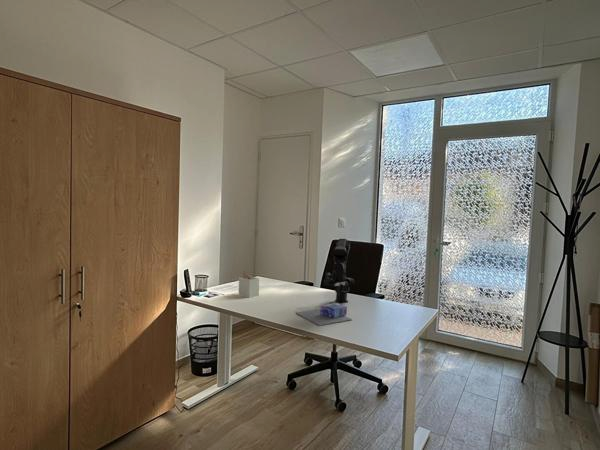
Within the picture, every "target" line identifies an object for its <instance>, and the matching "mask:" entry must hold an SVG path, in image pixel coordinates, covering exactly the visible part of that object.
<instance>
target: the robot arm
mask: <svg viewBox="0 0 600 450" xmlns="http://www.w3.org/2000/svg"><path fill="white" fill-rule="evenodd" d="M335 246H336V247H335V248H334V249H333V252H332V253H333V254H332V261H333V262H334V264H333V267H332V269H333V272H332V273H330V272H326V273H325V279H324V280H323V285H324V286H327V287H333V288H334V290H335V293H336V294H335V299H334V301H336V303H337V302H338V303H339V304H341V303H349V300H348V299H347V298H348V297H347V296H348V294H349V293H350V286H349V284H350V285H354V284H355V280H354V278H352V277H347V276H346V273H347V272H346V268H347V261H348V258H349V257H348V256H349V251H350V250H351V243H350V242H349V240H348V239H347V238H339V239H338V241H336V245H335ZM348 283H349V284H348Z"/></svg>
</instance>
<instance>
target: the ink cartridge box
mask: <svg viewBox="0 0 600 450" xmlns="http://www.w3.org/2000/svg"><path fill="white" fill-rule="evenodd" d="M319 309H320V314H321V315H323V316H326V317H329V318H331V319H332V318H337V317H341V316H347V312H348V306H347V305H343V304H341V303H339V302H338V303H337V302H334V303H333V302H332V303H329V304H322V305H320V308H319Z"/></svg>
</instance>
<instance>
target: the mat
mask: <svg viewBox="0 0 600 450" xmlns="http://www.w3.org/2000/svg"><path fill="white" fill-rule="evenodd" d="M320 309H321V308H316V309H311V310H304V311H297V312H295V314H296V315H298V316H300V317H301V318H304V319H305V320H307V321H310V322H311V323H313V324H314V325H316V326H318V327H322V326H326V325H333V324H337V323H338V324H340V323H344V322H350V321H353V319H352V318H350V317H348V316H347V315H345V316H341V317H337V318H332V319H331V318H329V317H326V316H323V315H321V314H320Z"/></svg>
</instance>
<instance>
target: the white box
mask: <svg viewBox="0 0 600 450" xmlns="http://www.w3.org/2000/svg"><path fill="white" fill-rule="evenodd" d="M243 274H244V275H246V276H243V277H240V276H239V277H238V296H240V297H245V298H247V299H250V298H254V297H259V295H260V277H255V276H251V275H247V273H246V272H245V271H243Z"/></svg>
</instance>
